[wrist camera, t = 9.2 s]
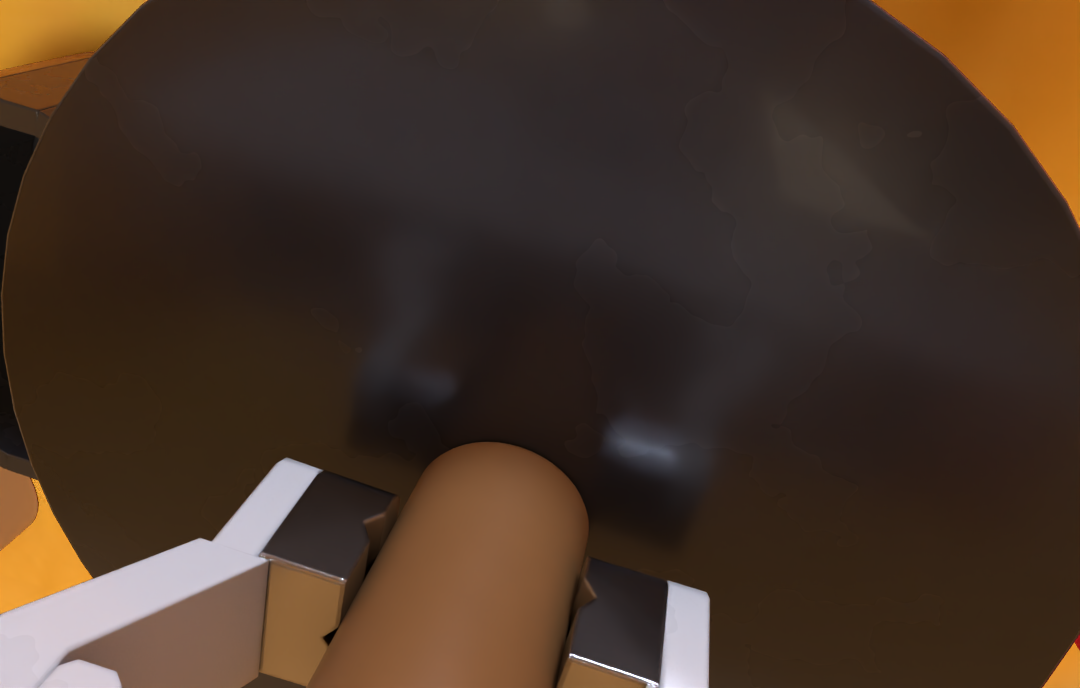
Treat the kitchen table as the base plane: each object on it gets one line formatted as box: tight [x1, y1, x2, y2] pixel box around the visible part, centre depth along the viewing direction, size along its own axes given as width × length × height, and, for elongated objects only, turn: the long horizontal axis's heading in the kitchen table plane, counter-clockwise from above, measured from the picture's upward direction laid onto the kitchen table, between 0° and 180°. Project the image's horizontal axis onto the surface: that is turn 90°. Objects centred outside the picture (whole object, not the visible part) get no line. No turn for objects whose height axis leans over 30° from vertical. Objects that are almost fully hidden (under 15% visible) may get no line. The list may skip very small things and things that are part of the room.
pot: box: [0, 51, 96, 480], centre depth 29 cm, size 14×14×8 cm
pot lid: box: [1, 0, 1080, 688], centre depth 10 cm, size 15×15×5 cm
